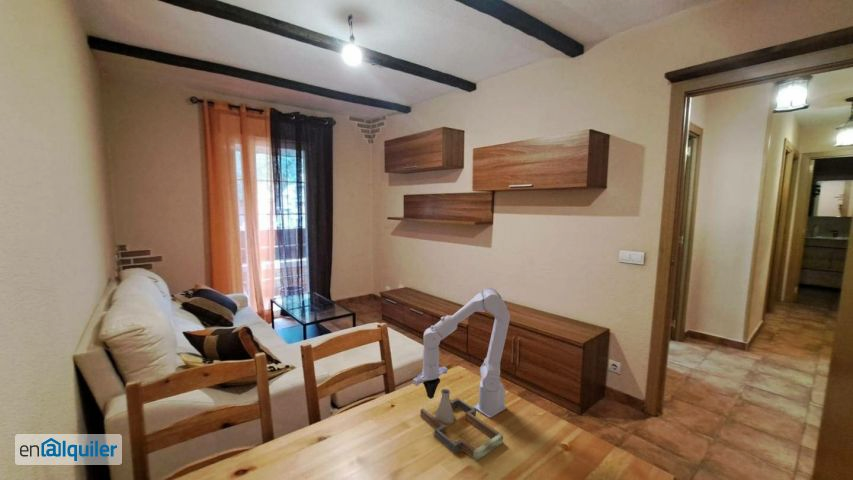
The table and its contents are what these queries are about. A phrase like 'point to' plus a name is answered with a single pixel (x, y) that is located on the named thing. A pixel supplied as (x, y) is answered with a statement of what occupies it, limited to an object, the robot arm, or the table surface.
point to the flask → (445, 409)
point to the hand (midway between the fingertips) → (430, 397)
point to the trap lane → (461, 443)
